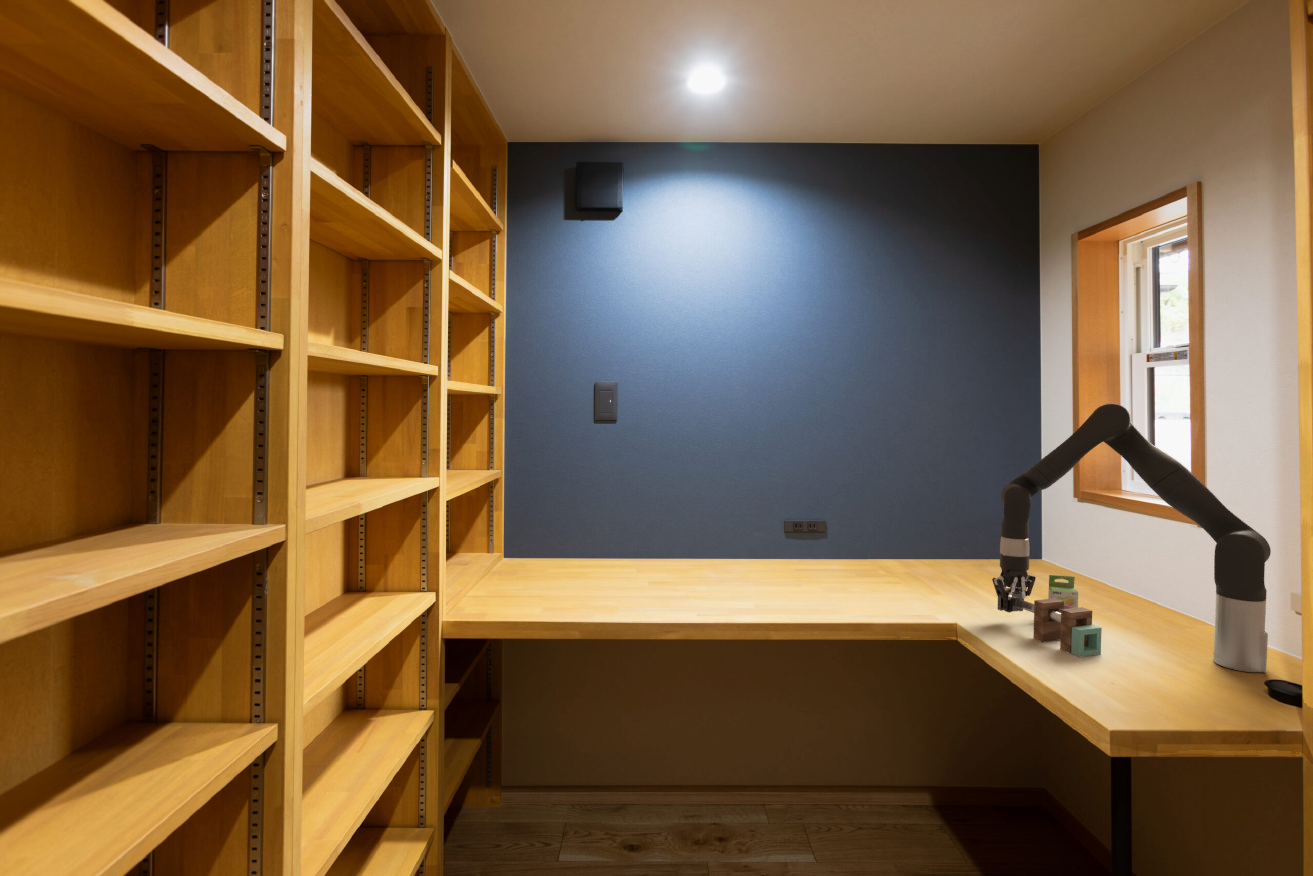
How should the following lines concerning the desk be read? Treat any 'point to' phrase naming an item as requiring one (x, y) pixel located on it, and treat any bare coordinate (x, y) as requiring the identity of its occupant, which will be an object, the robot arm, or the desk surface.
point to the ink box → (1063, 591)
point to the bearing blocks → (1056, 630)
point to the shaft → (1028, 607)
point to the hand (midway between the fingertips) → (1013, 610)
